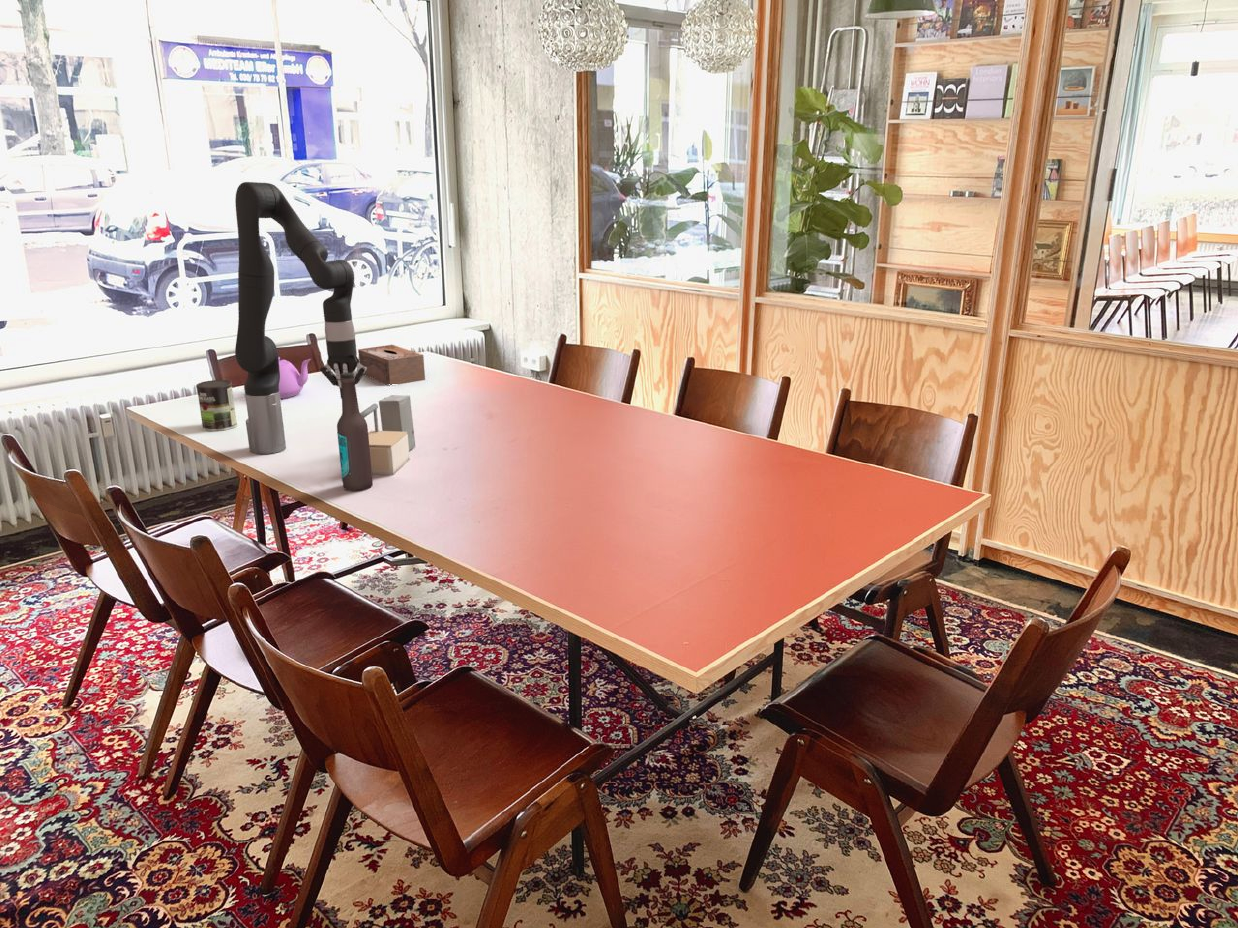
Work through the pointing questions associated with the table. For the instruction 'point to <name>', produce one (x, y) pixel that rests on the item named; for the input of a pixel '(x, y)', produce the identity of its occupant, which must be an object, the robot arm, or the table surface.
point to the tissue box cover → (392, 364)
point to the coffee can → (216, 405)
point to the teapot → (291, 378)
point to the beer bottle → (353, 440)
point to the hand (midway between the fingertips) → (347, 400)
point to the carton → (389, 457)
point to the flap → (378, 436)
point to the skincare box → (397, 416)
